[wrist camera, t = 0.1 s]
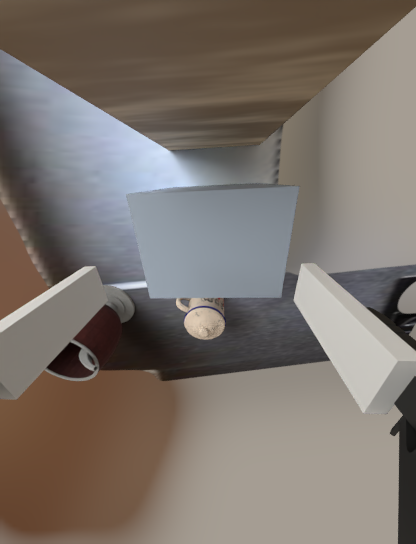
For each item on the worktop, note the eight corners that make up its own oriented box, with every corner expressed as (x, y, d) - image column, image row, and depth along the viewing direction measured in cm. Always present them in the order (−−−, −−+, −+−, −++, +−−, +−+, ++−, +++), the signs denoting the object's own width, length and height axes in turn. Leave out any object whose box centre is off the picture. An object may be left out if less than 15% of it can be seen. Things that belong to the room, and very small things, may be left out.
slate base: (173, 187, 35) (126, 194, 17) (257, 183, 34) (299, 186, 16) (180, 246, 40) (150, 298, 23) (252, 244, 39) (280, 297, 21)
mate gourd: (102, 326, 53) (43, 400, 35) (76, 287, 47) (-10, 352, 29) (150, 319, 51) (113, 394, 33) (130, 277, 45) (71, 341, 27)
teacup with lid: (231, 294, 45) (234, 328, 35) (213, 318, 49) (212, 355, 39) (189, 273, 43) (179, 303, 33) (174, 300, 47) (161, 333, 37)
